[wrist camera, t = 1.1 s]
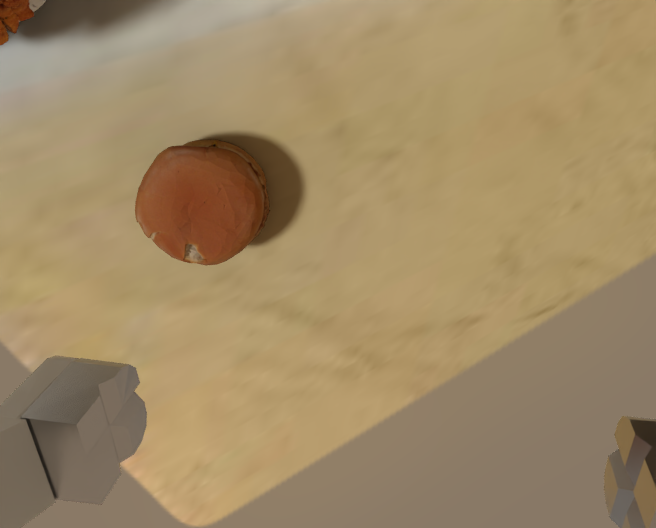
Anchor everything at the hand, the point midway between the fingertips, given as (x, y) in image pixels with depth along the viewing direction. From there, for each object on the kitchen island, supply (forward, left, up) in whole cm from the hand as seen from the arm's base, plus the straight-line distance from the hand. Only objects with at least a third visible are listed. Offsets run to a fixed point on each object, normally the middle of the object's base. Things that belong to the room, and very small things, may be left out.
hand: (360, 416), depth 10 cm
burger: (-3, -10, -37) cm, 39 cm away
